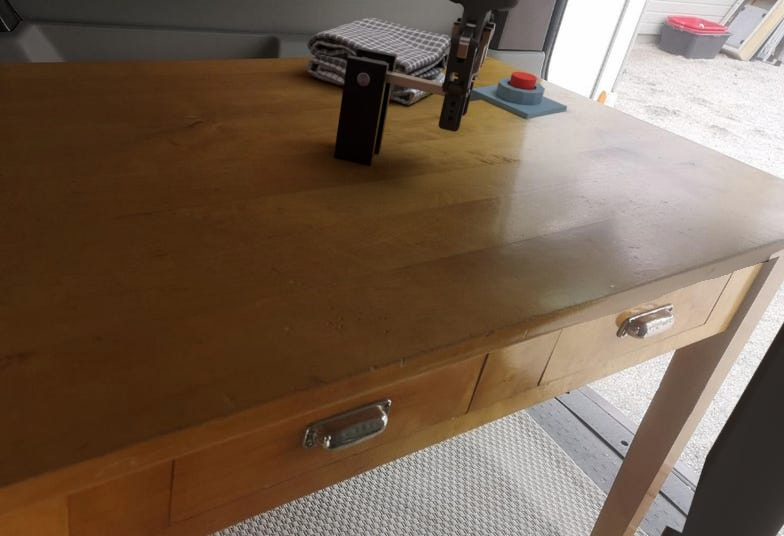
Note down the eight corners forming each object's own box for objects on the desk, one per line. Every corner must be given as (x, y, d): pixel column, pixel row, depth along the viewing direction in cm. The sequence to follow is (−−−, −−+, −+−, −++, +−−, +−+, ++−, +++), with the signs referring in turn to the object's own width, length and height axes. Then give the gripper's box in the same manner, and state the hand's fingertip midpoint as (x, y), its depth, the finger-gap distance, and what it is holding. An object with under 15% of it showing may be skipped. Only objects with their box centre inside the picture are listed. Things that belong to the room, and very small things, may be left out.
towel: (351, 59, 126) (358, 9, 122) (452, 88, 119) (463, 36, 114) (301, 77, 116) (306, 23, 111) (407, 111, 108) (418, 54, 104)
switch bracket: (412, 164, 92) (434, 56, 85) (396, 192, 85) (418, 77, 78) (318, 142, 95) (331, 36, 87) (295, 168, 88) (307, 54, 80)
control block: (563, 120, 112) (571, 93, 110) (523, 129, 107) (531, 101, 105) (506, 96, 119) (513, 70, 117) (466, 103, 114) (473, 76, 112)
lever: (466, 99, 84) (472, 77, 83) (459, 112, 80) (465, 90, 79) (361, 74, 87) (365, 53, 85) (350, 86, 83) (354, 64, 81)
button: (538, 90, 111) (542, 78, 110) (522, 93, 109) (526, 80, 108) (519, 82, 113) (522, 70, 112) (503, 85, 111) (506, 72, 110)
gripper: (523, -32, 67) (477, 150, 77) (535, -52, 79) (493, 109, 89) (440, -46, 69) (405, 134, 79) (464, -64, 80) (430, 96, 90)
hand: (452, 120), depth 84 cm, fingers closed on lever, 5 cm apart
